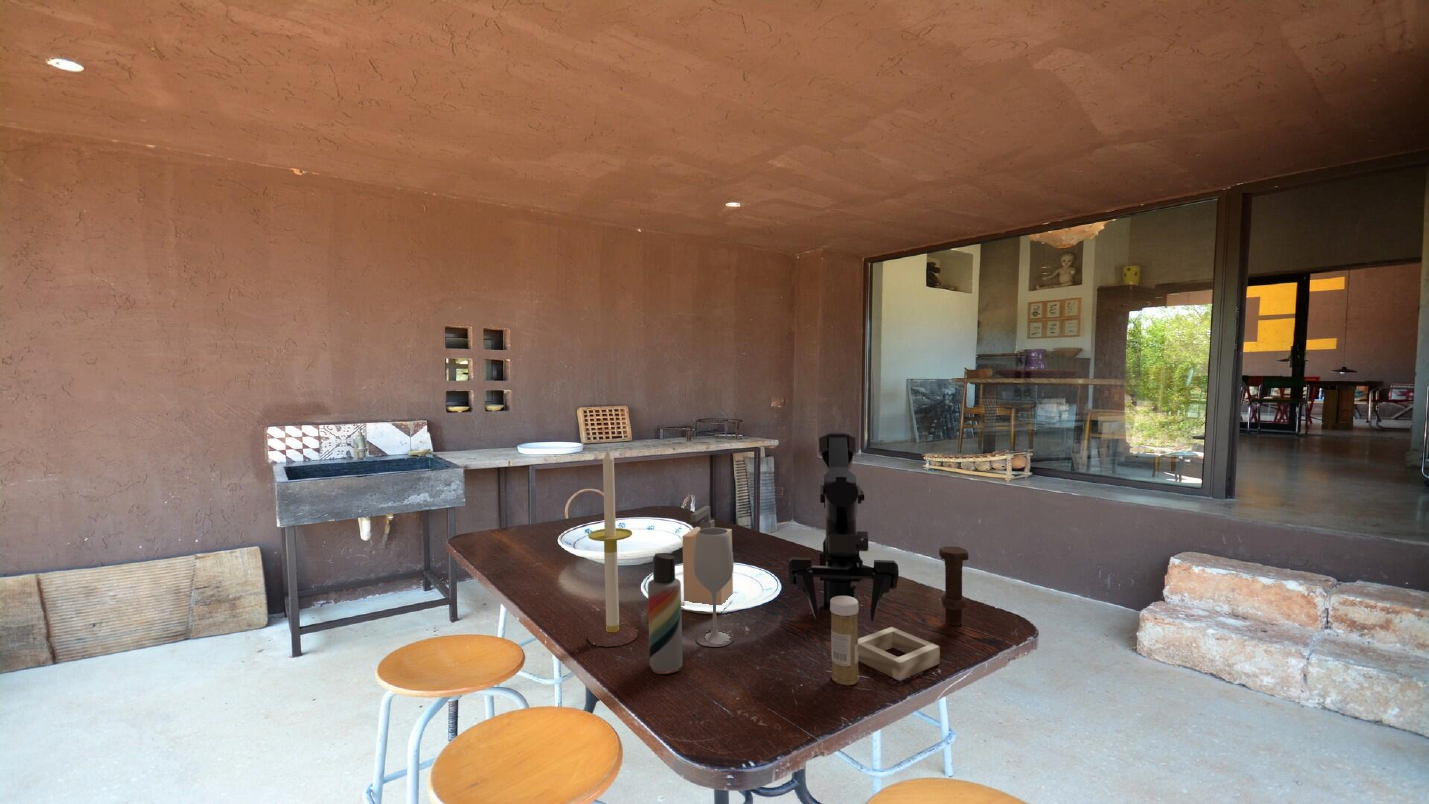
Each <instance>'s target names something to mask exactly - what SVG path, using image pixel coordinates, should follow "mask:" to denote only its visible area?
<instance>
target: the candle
mask: <svg viewBox="0 0 1429 804" xmlns="http://www.w3.org/2000/svg"><path fill="white" fill-rule="evenodd" d="M602 479H603V483H602V484H603V509H604V510H603V511H604V512H603V514H604V515H603V517H604V518H603V519H604V521H603V522H604V528H601V529H596V530H593V531H590V532H589V533H588V535H587V536H588V539H590V540H592V541H595V542H596V541H597V542H603V552H604V553H603V554H604V556H603V557H604V560H603V561H604V595H605V626H606V631H607V632H617V631H618V630H619V625H620V613H619V612H620V611H619V607H620V606H619V605H620V604H619V578H618V577H619V575H618V574H619V572H618V568H619V567H618V564H619V563H618V541H621V540H625V539H628V538H630V537H631V536H632V535H633V532H632V530H631V529H628V528H627V529H626V528H622V527H619V528H618V527H616V526H617V525H616V497H615V496H616V494H615V492H616V491H615V490H616V489H615V459H614V457H613V456H612V454H611V451H610V448H606V453H605V455H604V457H603V458H602Z"/></svg>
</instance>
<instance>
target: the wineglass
mask: <svg viewBox="0 0 1429 804" xmlns="http://www.w3.org/2000/svg"><path fill="white" fill-rule="evenodd" d="M727 529H728V528H725V527H724V528H723V527H715V528H704V529H700V530H699V531H698V532H697V537H696V543H695V551H694V573H695V575H696V578H697V580H698V581H699V582H700V583H701V584H702V585H703V586H704V587H705V588H706V589H708V590H709V591H710V592H711V594H712V603H713V613H712V630H711V633H708V634H706V636H705V638H706V640H707V641H710V642H711V643H715V644H722V643H723V642H724V641H730V640H729V638H731V637H730V636H728V635H729V634H726V633H722V632H718V631H719V630H718V626H717V625H718V623H717V622H718V621H717V614H716V596H717V593H718V591H719V590H720V589H722V588H723V587H724V586H725V585H726V584H727V583H728V581H729V580H730V579H731V576H732V574H733V573H734V566H735V565H734V563H735V562H734V553H733V545H732V546H731V540H730V535H729V531H728V530H727ZM724 643H726V642H724Z"/></svg>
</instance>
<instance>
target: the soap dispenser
mask: <svg viewBox="0 0 1429 804" xmlns="http://www.w3.org/2000/svg"><path fill="white" fill-rule="evenodd" d="M702 519H703V520H702ZM698 521H700V522H699V526H696V527H694V528H692V529H691V530H690V531H688V532H686V533H685V534H683V535H682V538H681V539H682V575H683V578H682V581H683V602H684V601H689V602H692V603H702V604H709V605H713V603H712V594H711V592H710V591H709V590H708V589H706V588H705V587H704V586H703V585H702V584H701V583H700V582H699V581H698V580H697V578H696V575H695V573H694V551H695V543H696V537H697V532H698V531H699V530H700V529H704V528H716V527H715V519H711V506H710V505H705V506H703V507H701V508H700V509H697V510H696V511H695V512H693V513H691V514H690V522H691V523H692V522H693V523H696V522H698ZM726 529H727V530H728V531H729V535H730V540H731V546H732V547H733V534H732V533H733V531H732V530H733V529H731V528H726ZM733 577H734V575H733V574H732V576H731V579H730V580H729V581H728V583H727V584H726V585H725V586H724V587H723V588H722V589H720V590H719V591H718V593H717V596H716V605H722V604H723V603H725V602H726V600H728V598H729V597H730V596H731V595H732V594H733V595H734V583H733V581H734V579H733Z"/></svg>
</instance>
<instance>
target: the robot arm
mask: <svg viewBox="0 0 1429 804" xmlns="http://www.w3.org/2000/svg"><path fill="white" fill-rule="evenodd" d="M856 439H857V438H856V437H855V436H851V435H850V433H848V432H844V431H842V432H839V431H836V432H831V431H830V432H829V433H826V435H823V436H820V437H818V456H820V457H821V465H822V467H823V468H824V470H825V471H826V473H824V475H823V484H820V486H819V487H820V488H819V493H820V494H819V501H820V504H823V508H824V509H825V511H824V512H825V516H824V517H825V518H824V519H825V537H824V539H823V542H822V552H821V551H820V552H819V565H812V558H811V557H795V556H793V557H791V558H790V559H789V560H788V579H789V584H790V585H792V586H796V589H797V590H802V591H803V593H804V595H805V597H806V598H807V600H808V603H809V605H810V606H809V607H810V609H811V611H812V614H813V617H814V619H815V620H818V604H817V595H816V589H815V580H814V579H815V578H819V582H823V586H822V587H823V589H822V591H823V602H822V603H821V604H820V605H819V606H820V609H825V610H829V611H830V600H831V598H833V597H836V596H850V597H853V598H855V599H857V601H858V606H859V605H860V604H859V585H857V584H856V583H860V581H863V580H865V579H867V580H872V587H871V588H872V589H871V600H870V602H871V603H870V611H869V612H870V614H869V618H870V622H871V623H874V621H875V616H876V613H877V610H878V606H879V603H880V601H881V599H882V597H883V595H884V594H888V593H890V590H894V589H897V586H898V581H899V576H900V575H899V573H900V572H899V571H900V570H899V565H898V563H897V562H896V561H895V560H889V559H888V560H887V559H874V560H873V567H869V566H868V567H865V566H864V563H863V562H864V560H863V559H862V558H861V556H860V552H868V551H869V534H868V533H869V532H868V531H867V530H866V531H863V530H861V531H859V530H858V526H857V517H858V504H859V505H860V504H862V502H864V501H865V493H864V491H863V490H862V489H861V485H859V484H857V477H856V475H855V474H854V473H853V472H852V471H850V469H851V467H853V458H854V457H856V455H857V444H856V443H857V442H856V441H857V440H856Z"/></svg>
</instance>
